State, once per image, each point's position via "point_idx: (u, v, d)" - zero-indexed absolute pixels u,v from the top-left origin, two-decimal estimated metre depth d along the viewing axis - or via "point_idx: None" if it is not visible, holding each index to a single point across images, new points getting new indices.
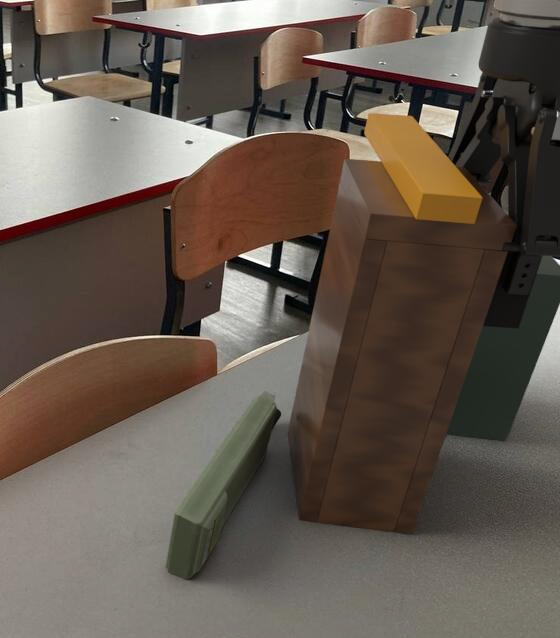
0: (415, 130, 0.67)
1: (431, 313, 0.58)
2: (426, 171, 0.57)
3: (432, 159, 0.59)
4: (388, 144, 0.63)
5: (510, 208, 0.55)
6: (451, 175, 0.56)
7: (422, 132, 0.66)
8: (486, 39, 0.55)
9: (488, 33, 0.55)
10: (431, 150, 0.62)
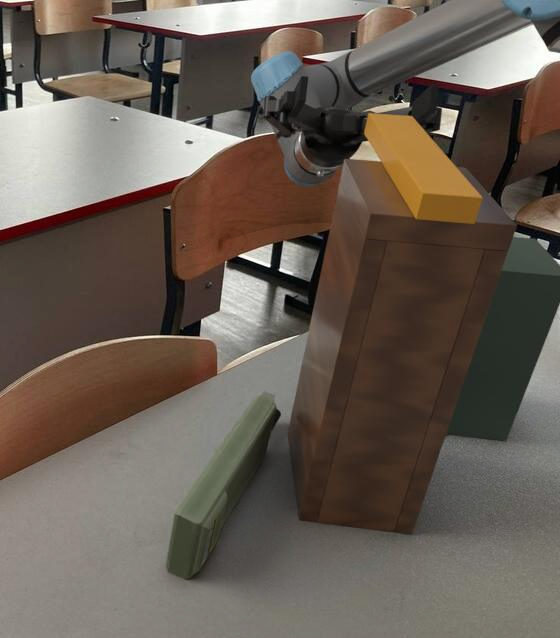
0: (415, 130, 0.67)
1: (431, 313, 0.58)
2: (426, 171, 0.57)
3: (432, 159, 0.59)
4: (388, 144, 0.63)
5: (298, 122, 0.91)
6: (451, 175, 0.56)
7: (422, 132, 0.66)
8: (328, 166, 1.01)
9: (327, 166, 1.02)
10: (431, 150, 0.62)
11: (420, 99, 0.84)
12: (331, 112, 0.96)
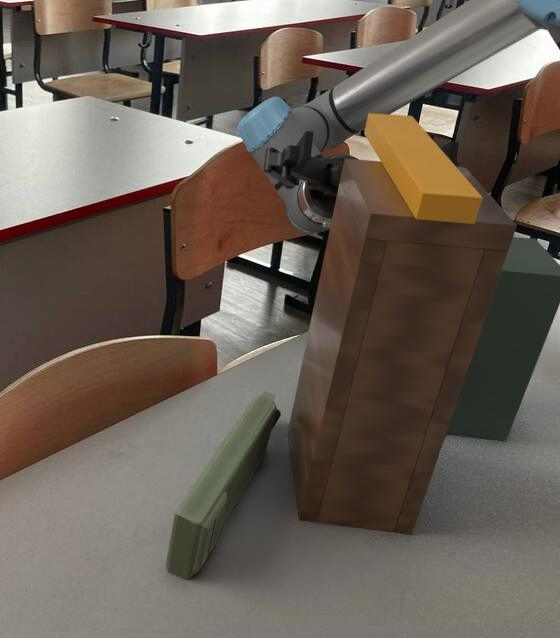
0: (415, 130, 0.67)
1: (431, 313, 0.58)
2: (426, 171, 0.57)
3: (432, 159, 0.59)
4: (388, 144, 0.63)
5: (302, 176, 0.83)
6: (451, 175, 0.56)
7: (422, 132, 0.66)
8: None
9: None
10: (431, 150, 0.62)
11: None
12: (338, 162, 0.88)
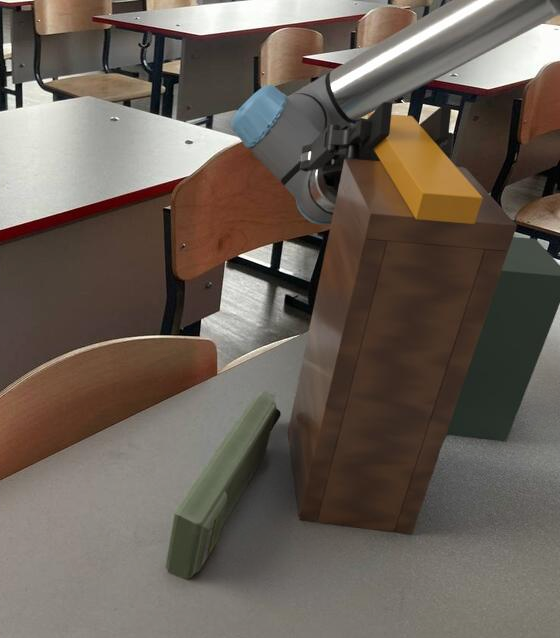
0: (415, 130, 0.67)
1: (431, 313, 0.58)
2: (426, 171, 0.57)
3: (432, 159, 0.59)
4: (388, 144, 0.63)
5: (355, 158, 0.73)
6: (451, 175, 0.56)
7: (422, 132, 0.66)
8: None
9: None
10: (431, 150, 0.62)
11: (427, 123, 0.66)
12: None
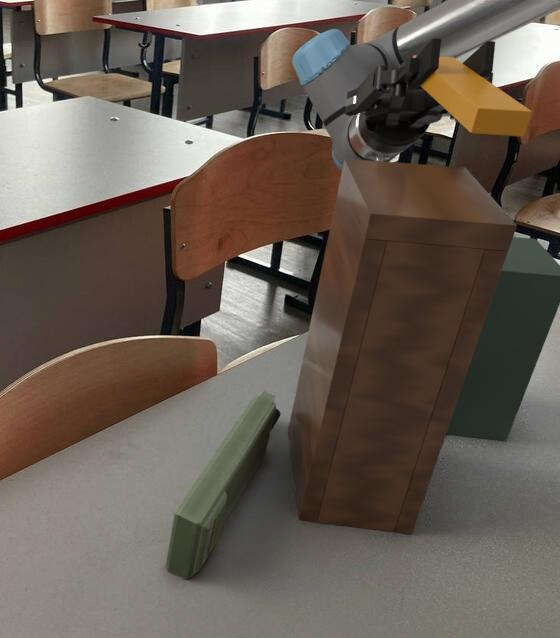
0: (459, 67, 0.73)
1: (431, 313, 0.58)
2: (477, 94, 0.63)
3: (480, 86, 0.65)
4: (437, 76, 0.69)
5: (400, 98, 0.79)
6: (500, 97, 0.62)
7: (466, 68, 0.72)
8: (391, 151, 0.91)
9: (389, 152, 0.91)
10: (478, 80, 0.68)
11: (471, 60, 0.72)
12: None
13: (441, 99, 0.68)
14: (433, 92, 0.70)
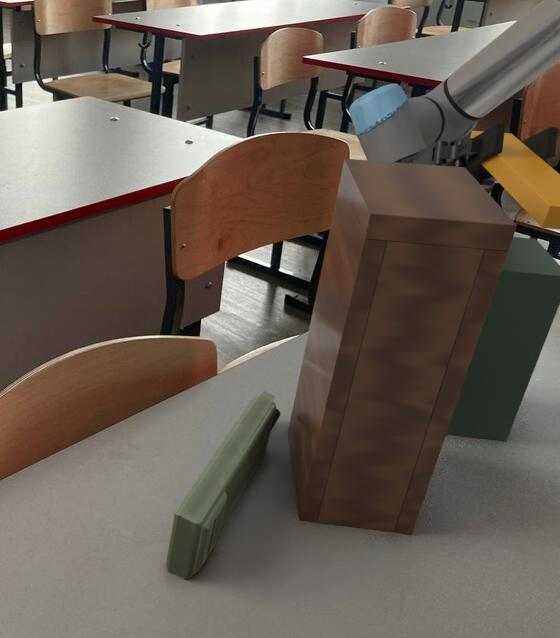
0: (520, 147, 0.75)
1: (431, 313, 0.58)
2: (544, 185, 0.66)
3: (545, 175, 0.68)
4: (501, 160, 0.72)
5: None
6: None
7: (527, 149, 0.75)
8: None
9: None
10: (541, 166, 0.70)
11: (531, 141, 0.75)
12: None
13: (506, 184, 0.70)
14: (496, 174, 0.73)
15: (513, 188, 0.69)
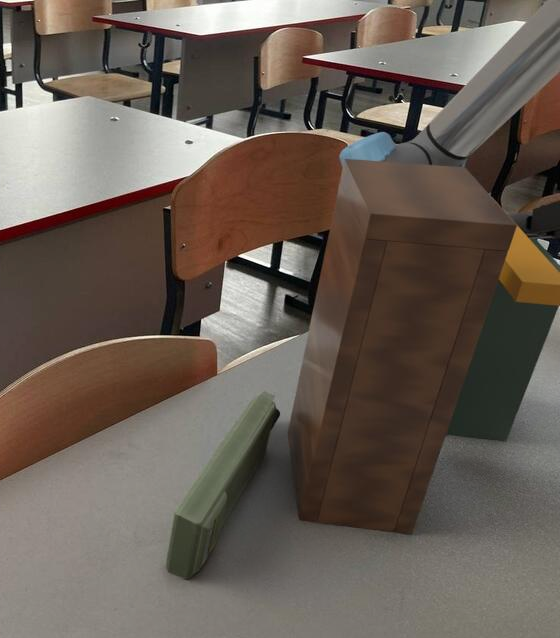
0: None
1: (431, 313, 0.58)
2: (519, 258, 0.69)
3: (520, 245, 0.72)
4: None
5: None
6: (540, 263, 0.68)
7: None
8: None
9: None
10: (517, 235, 0.74)
11: (546, 210, 0.80)
12: None
13: None
14: None
15: None
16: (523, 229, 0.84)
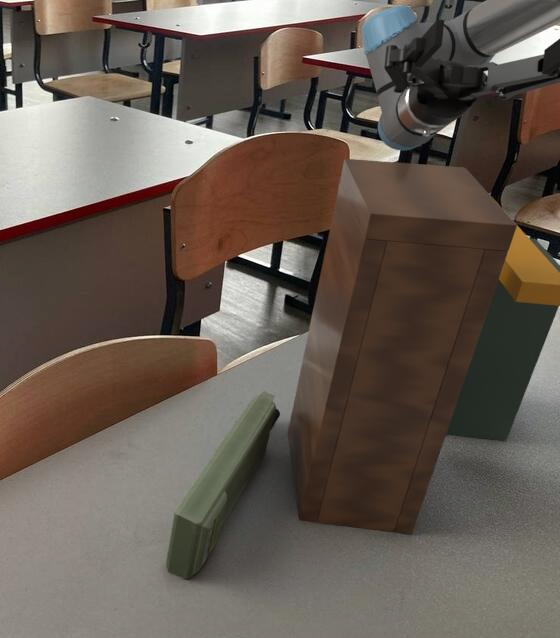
0: None
1: (431, 313, 0.58)
2: (519, 258, 0.69)
3: (520, 245, 0.72)
4: None
5: (420, 73, 0.88)
6: (540, 263, 0.68)
7: None
8: (439, 123, 0.98)
9: (437, 124, 0.98)
10: (517, 235, 0.74)
11: (558, 44, 0.81)
12: (448, 65, 0.92)
13: None
14: None
15: None
16: (535, 72, 0.86)
